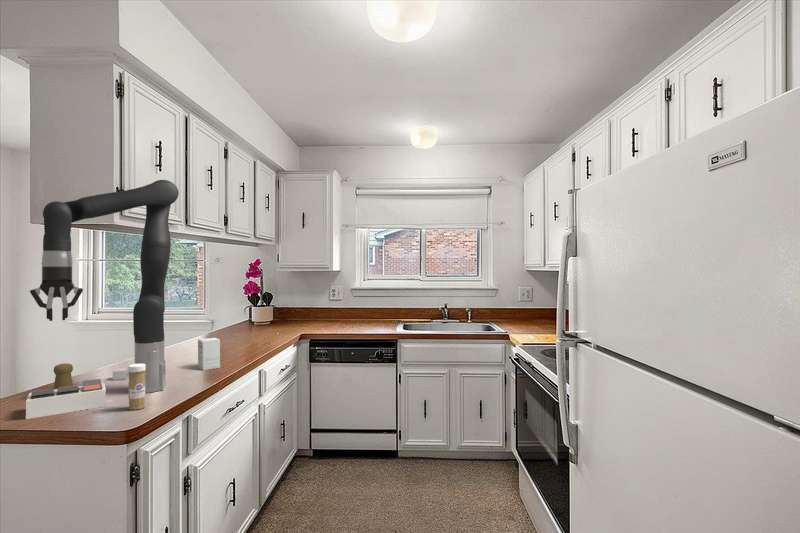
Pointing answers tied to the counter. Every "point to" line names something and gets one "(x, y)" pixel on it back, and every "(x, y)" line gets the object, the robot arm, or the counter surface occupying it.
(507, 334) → the counter surface
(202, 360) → the supplement box
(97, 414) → the counter surface
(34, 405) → the white switch panel
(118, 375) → the usb wall charger
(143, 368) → the sprinkles bottle
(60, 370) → the cork
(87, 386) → the switch
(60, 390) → the switch middle
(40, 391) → the switch
